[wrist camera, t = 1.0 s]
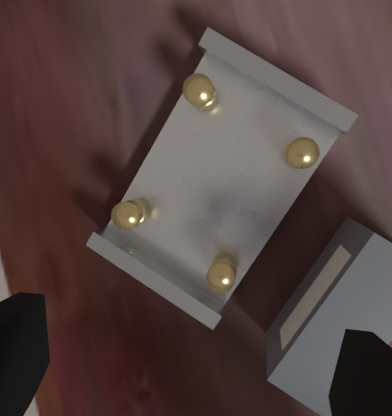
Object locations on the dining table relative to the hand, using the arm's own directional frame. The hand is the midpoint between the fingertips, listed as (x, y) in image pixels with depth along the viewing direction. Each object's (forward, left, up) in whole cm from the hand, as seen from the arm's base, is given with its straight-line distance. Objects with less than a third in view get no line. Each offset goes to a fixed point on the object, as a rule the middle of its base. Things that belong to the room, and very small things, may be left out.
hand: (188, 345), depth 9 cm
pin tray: (+3, -2, -15) cm, 15 cm away
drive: (-7, 0, -15) cm, 16 cm away
